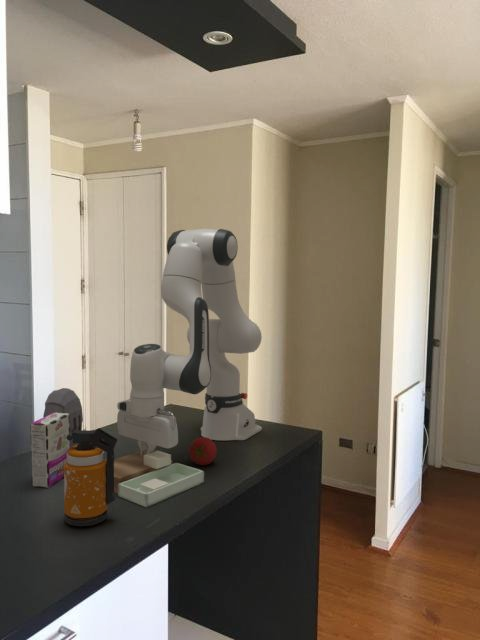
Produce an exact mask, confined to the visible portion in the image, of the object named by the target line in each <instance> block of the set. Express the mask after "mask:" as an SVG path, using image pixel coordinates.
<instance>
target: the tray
mask: <svg viewBox="0 0 480 640" xmlns="http://www.w3.org/2000/svg"><path fill="white" fill-rule="evenodd" d="M152 479H158V480H161V481H164V482H167V483H169V484H168V485H166V486H163V487H161V488H158V489H156V490H153V491H151V492H148V493H145V492H142V491H140V484H141V483H144V482H147V481H149V480H152ZM204 483H205V471H204V470H201V469H199V468H195V467H192V466H190V465H189V466H188V465H185V464H182V463H178V462H174V463H172V464H171V465H169V466H166V467H163V468H160V469H158V470H155V471H152V472H150V473H147V474H144V475H141V476H139V477H136V478H133V479H130V480H128V481H125V482H122V483H120V484H118V494H117V497H120V498H122V499H124V500H126V501H129V502H131V503H134V504H136V505H139V506H142V507H144V508H149V507H151V506H153V505H155V504H158V503H160V502H162V501H166V500H167V499H169V498H171V497H174V496H177V495H179V494H181V493H182V492H183V493H184V492H186V491H187V490H190V489H192V488H195V487H197V486H199V485H201V484H204Z"/></svg>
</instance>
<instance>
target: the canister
mask: <svg viewBox="0 0 480 640" xmlns="http://www.w3.org/2000/svg"><path fill="white" fill-rule="evenodd" d="M66 438H67V440H72V439H73V443H79V445H75V446H72V447H71V448H69V450H68V452H67V461H66V462H65V464H64V479H63V482H64V483H63V489H64V491H63V492H64V498H63V499H64V501H63V502H64V522H66V524H69V525H71V526H76V527H89V526H94V525H96V524H99V523H102V522H103V521H104V520H105V519H106V518H107V517H108V505H109V504H111V503H113V502H115V500H116V499H117V497H118V494H117V493H115V492H114V459H115V447H116V445H117V442H118V439H117V438H116V437H114V436H113V435H111V434H110V433H107V432H106V431H104V430H103V429H101V428H100V427H99V428H97V429H95V430H94V429H93V430H89V429H88V430H82V431H80V430H74V432H71V433H69V434H68V435H67V437H66ZM105 453H106V458H105Z"/></svg>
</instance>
